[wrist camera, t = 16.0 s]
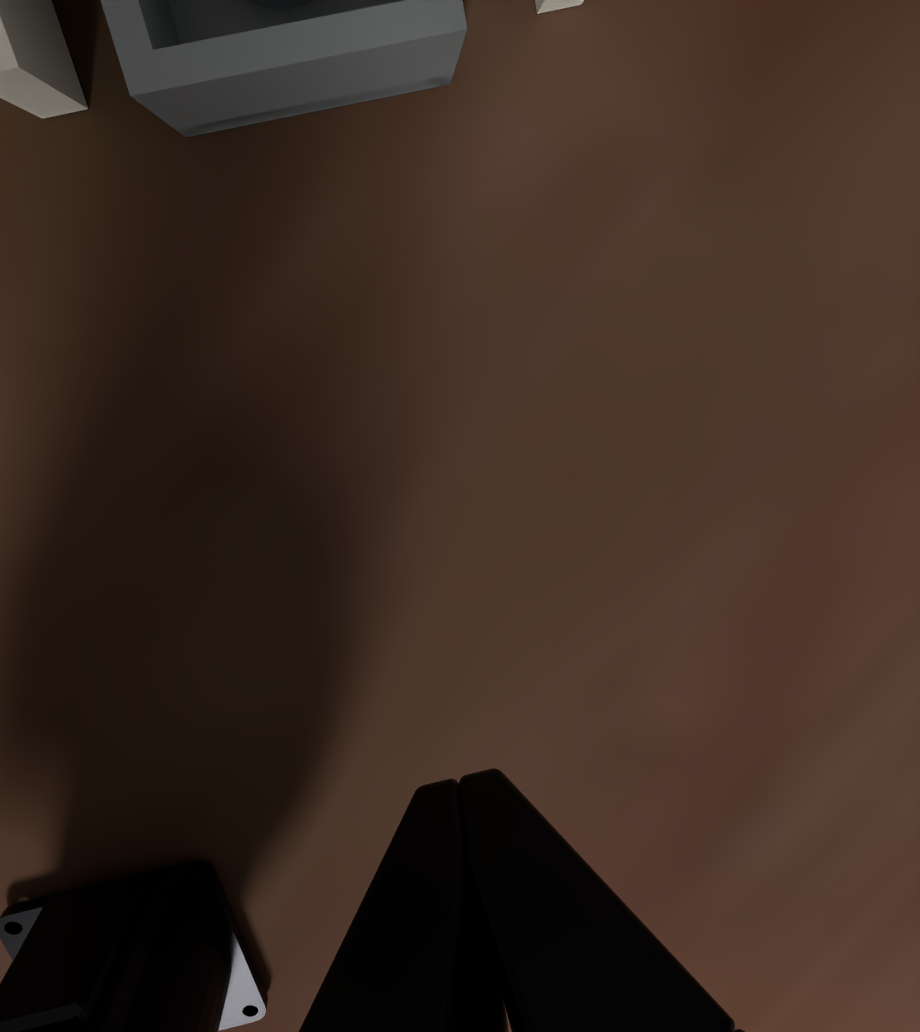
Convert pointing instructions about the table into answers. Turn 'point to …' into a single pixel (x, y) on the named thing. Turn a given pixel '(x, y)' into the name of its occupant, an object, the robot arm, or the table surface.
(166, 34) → the tray
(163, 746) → the table surface
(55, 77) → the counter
